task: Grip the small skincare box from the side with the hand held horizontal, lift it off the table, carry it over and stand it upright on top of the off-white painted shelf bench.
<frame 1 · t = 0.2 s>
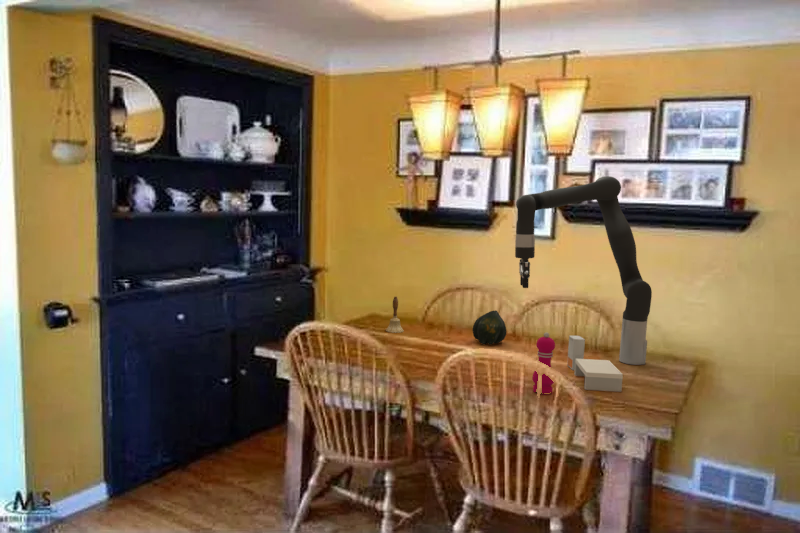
hand: (524, 286, 255), 28 cm above the table, tool pointing down, fingers open, 8 cm apart
pepper mill: (542, 392, 213), on the table
shelf bench: (596, 382, 225), on the table
squash: (488, 343, 279), on the table
hand bell: (394, 331, 295), on the table
skincare box: (574, 368, 243), on the table
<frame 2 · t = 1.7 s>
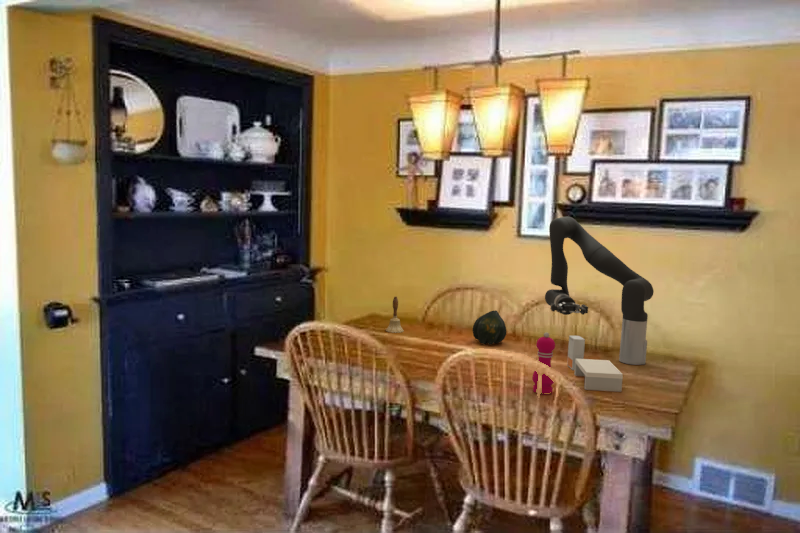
hand: (572, 311, 252), 20 cm above the table, tool horizontal, fingers open, 8 cm apart
nothing on the table moved.
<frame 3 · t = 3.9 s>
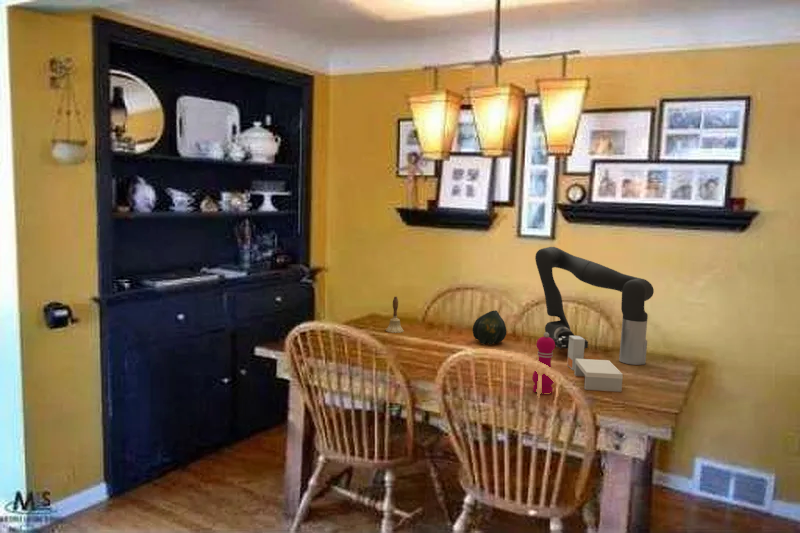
hand: (572, 346, 249), 7 cm above the table, tool horizontal, fingers open, 8 cm apart
nothing on the table moved.
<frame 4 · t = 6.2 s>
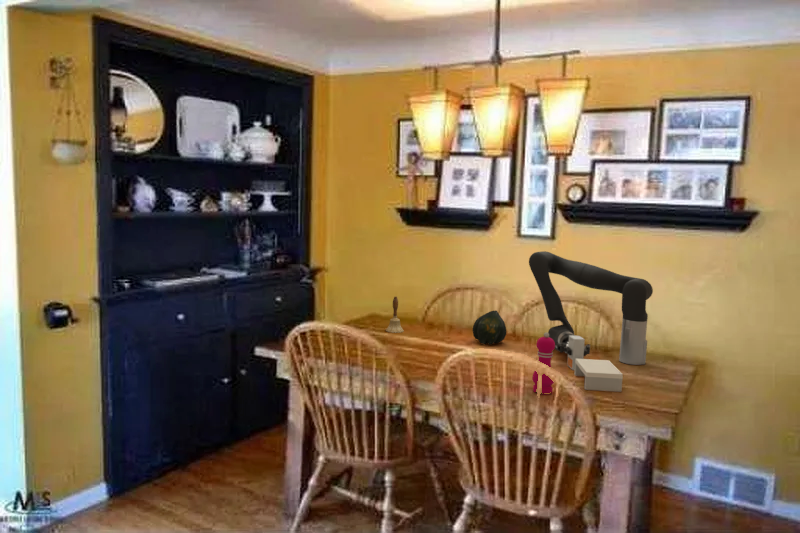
hand: (577, 353, 240), 7 cm above the table, tool horizontal, fingers closed on skincare box, 4 cm apart
skincare box: (574, 368, 243), on the table, touching gripper
everything else where it was.
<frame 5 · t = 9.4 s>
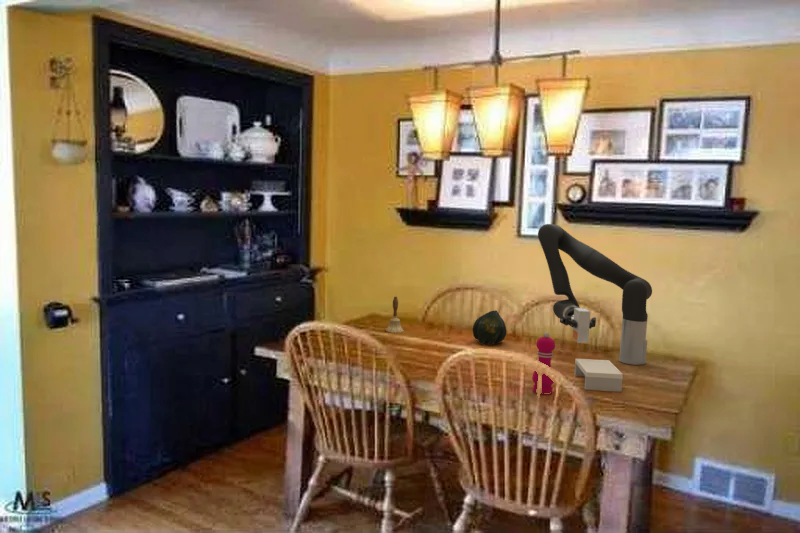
hand: (583, 325, 235), 18 cm above the table, tool horizontal, fingers closed on skincare box, 4 cm apart
skincare box: (580, 341, 239), point 11 cm above the table, touching gripper
everything else where it was.
when the fingers open (14 cm above the table, at t = 12.9 s): skincare box drops 1 cm, resting on shelf bench.
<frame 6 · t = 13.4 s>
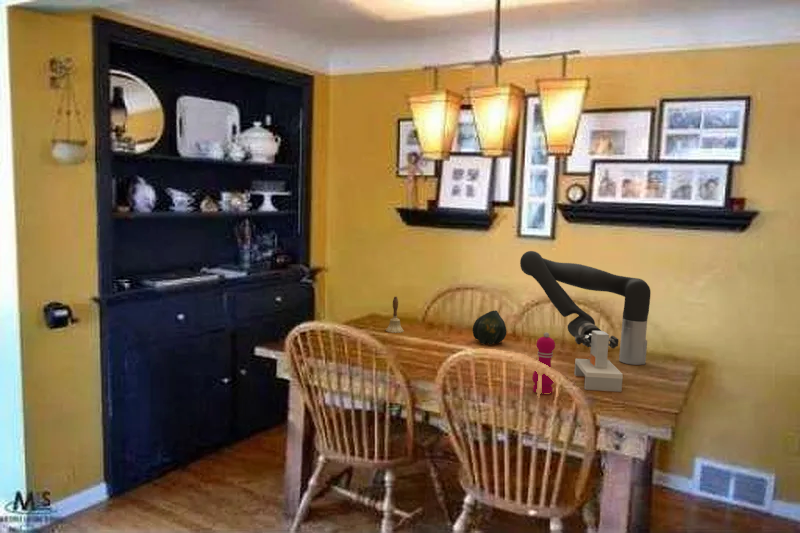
hand: (601, 345, 222), 14 cm above the table, tool horizontal, fingers open, 8 cm apart
skincare box: (597, 366, 224), point 6 cm above the table, touching shelf bench
everything else where it was.
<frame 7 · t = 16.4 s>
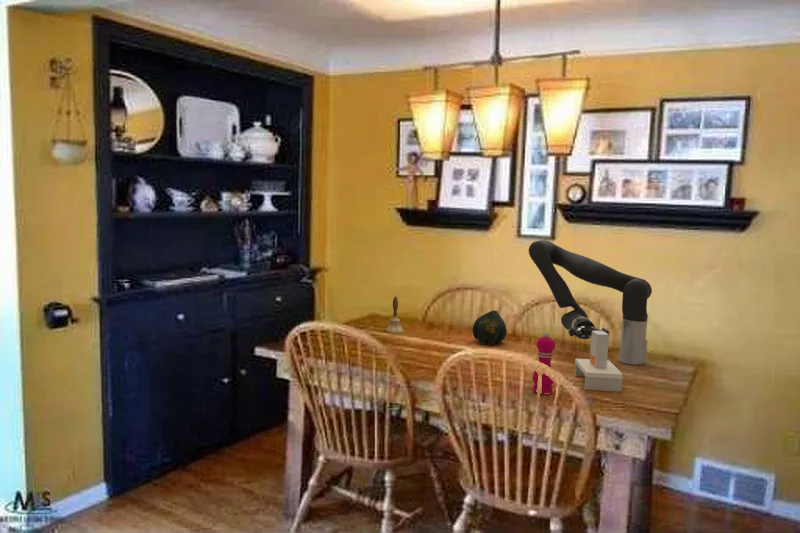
hand: (592, 336, 234), 14 cm above the table, tool horizontal, fingers open, 8 cm apart
nothing on the table moved.
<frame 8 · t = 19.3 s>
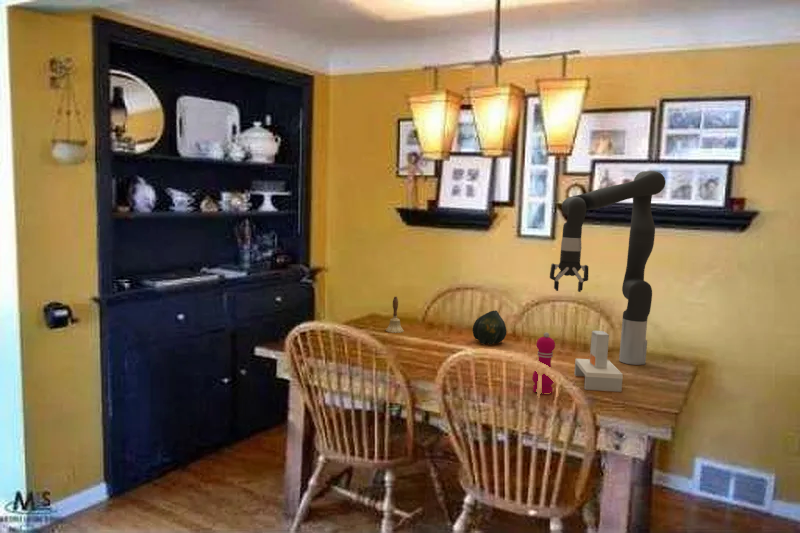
hand: (567, 291, 248), 28 cm above the table, tool pointing down, fingers open, 8 cm apart
nothing on the table moved.
at the end: skincare box inside the target area on the shelf bench (0.1 cm from its centre), point 5.8 cm above the shelf bench's base; skincare box tilted 0°; the gripper is holding nothing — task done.
